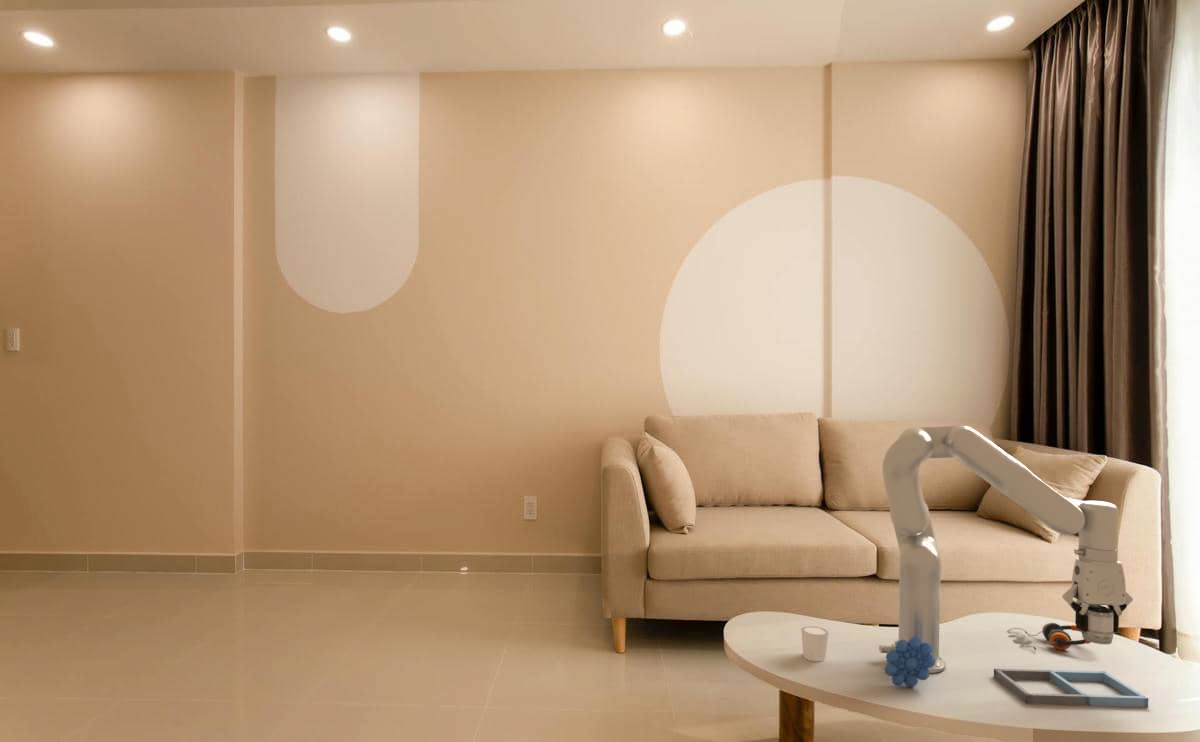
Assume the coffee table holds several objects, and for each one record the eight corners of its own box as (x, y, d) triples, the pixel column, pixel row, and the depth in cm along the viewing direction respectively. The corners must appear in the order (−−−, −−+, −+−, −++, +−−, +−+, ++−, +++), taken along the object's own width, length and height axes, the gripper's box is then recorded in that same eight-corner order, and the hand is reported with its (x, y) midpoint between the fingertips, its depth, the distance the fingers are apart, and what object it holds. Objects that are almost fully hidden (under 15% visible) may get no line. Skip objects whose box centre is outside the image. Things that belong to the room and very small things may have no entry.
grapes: (926, 679, 170) (927, 630, 170) (939, 692, 163) (940, 641, 163) (878, 677, 170) (879, 628, 170) (888, 690, 163) (889, 639, 163)
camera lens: (1091, 633, 169) (1091, 601, 169) (1119, 642, 163) (1119, 609, 163) (1074, 637, 166) (1075, 604, 166) (1102, 646, 160) (1103, 612, 160)
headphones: (1001, 620, 204) (1078, 612, 199) (1005, 638, 204) (1082, 631, 198) (1017, 641, 188) (1101, 634, 183) (1021, 661, 188) (1106, 654, 182)
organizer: (1027, 703, 158) (1027, 695, 158) (993, 676, 172) (993, 668, 172) (1148, 707, 157) (1148, 698, 157) (1104, 679, 171) (1104, 671, 171)
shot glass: (799, 660, 180) (799, 633, 180) (802, 650, 186) (802, 624, 186) (827, 664, 177) (827, 637, 177) (829, 654, 184) (829, 628, 184)
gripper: (1071, 557, 161) (1070, 635, 161) (1147, 559, 161) (1146, 637, 161) (1050, 549, 168) (1049, 623, 168) (1123, 550, 168) (1122, 625, 168)
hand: (1096, 629), depth 165 cm, fingers closed on camera lens, 6 cm apart
